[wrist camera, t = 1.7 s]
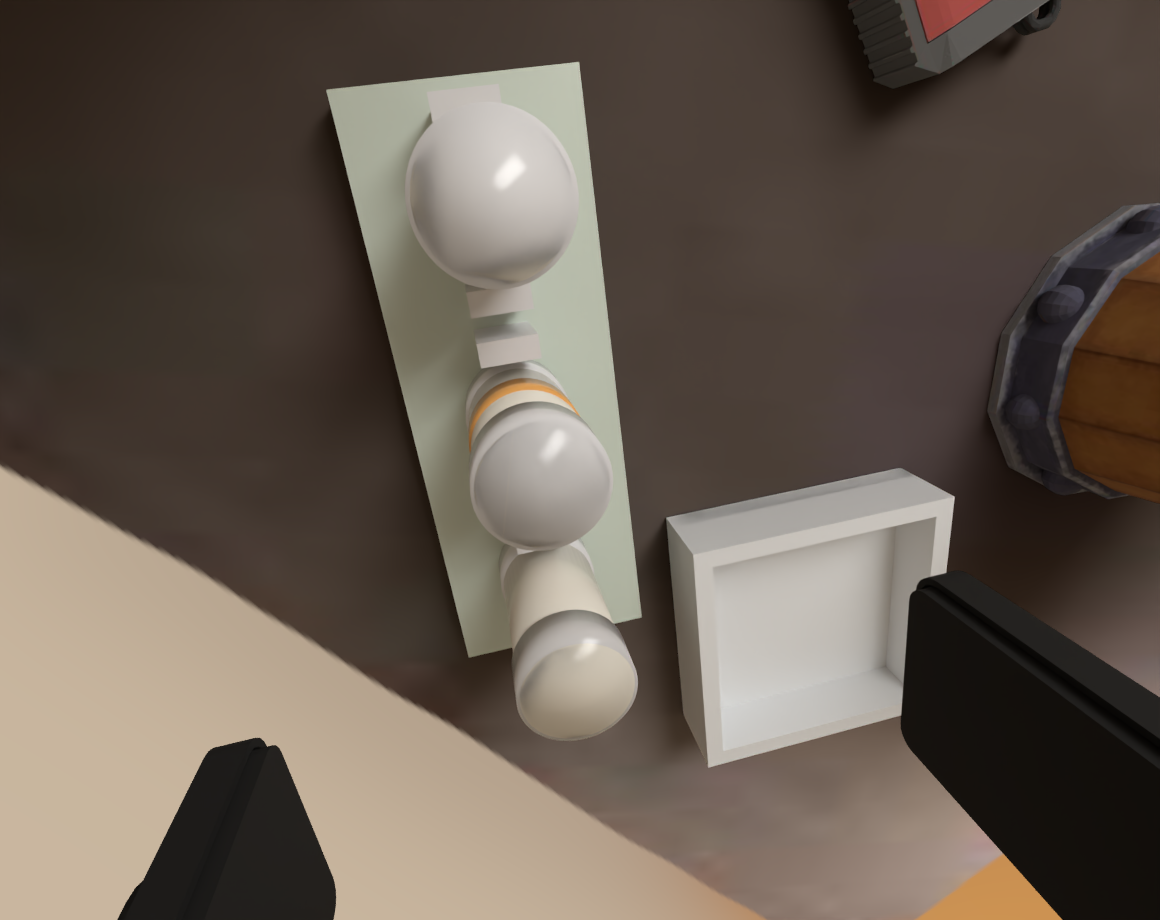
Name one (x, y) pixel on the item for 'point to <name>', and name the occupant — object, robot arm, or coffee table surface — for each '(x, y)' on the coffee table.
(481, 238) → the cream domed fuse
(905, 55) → the red flat piece
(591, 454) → the marked fuse
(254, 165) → the coffee table surface
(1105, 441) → the mug
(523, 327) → the board
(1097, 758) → the robot arm
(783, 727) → the tray
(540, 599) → the far fuse
